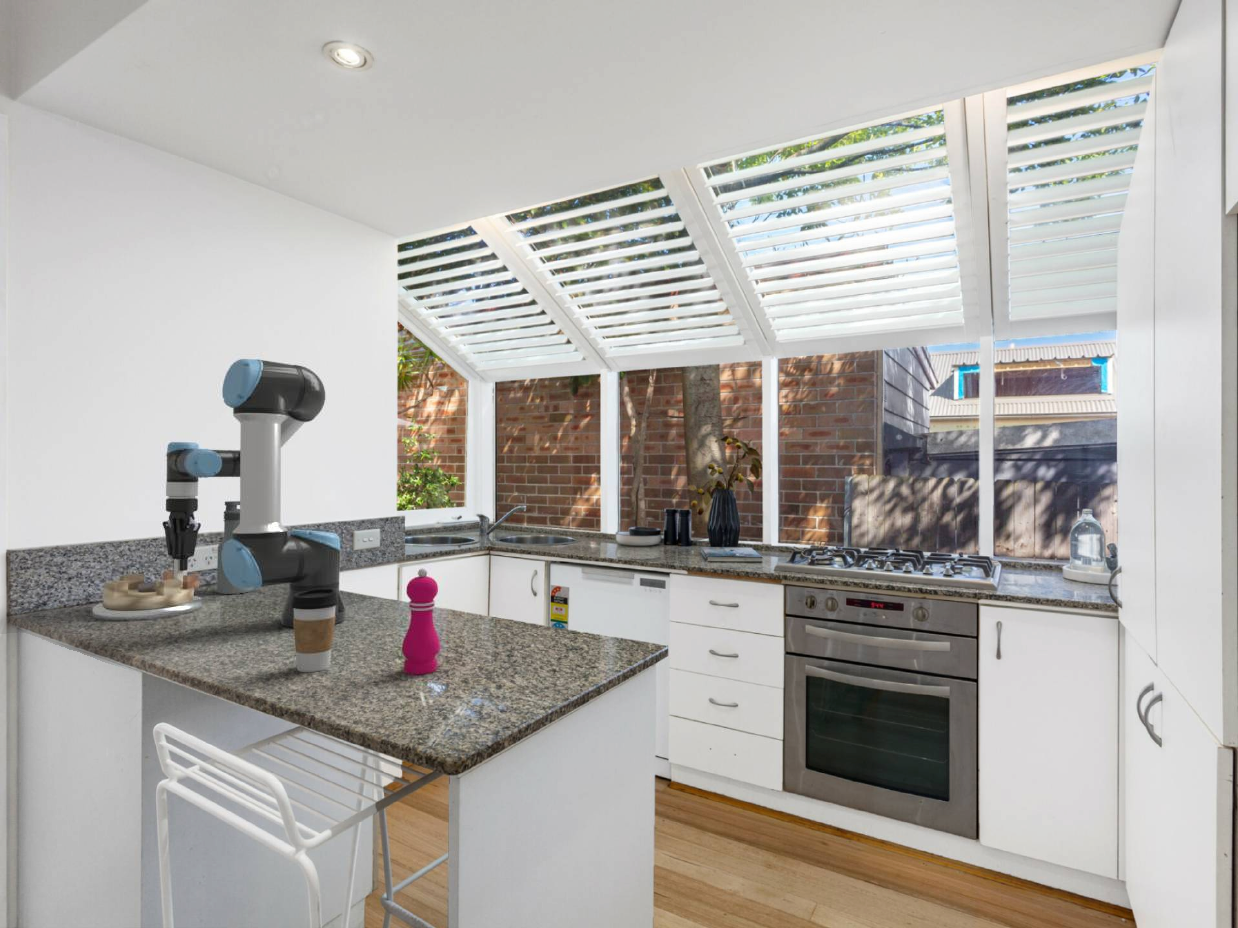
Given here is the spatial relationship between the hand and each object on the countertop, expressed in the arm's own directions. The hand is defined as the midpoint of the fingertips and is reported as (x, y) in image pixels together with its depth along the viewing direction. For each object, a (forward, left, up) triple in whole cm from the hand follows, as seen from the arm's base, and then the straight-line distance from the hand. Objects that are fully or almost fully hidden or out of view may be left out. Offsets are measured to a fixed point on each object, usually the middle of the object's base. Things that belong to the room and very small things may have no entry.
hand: (180, 581), depth 189 cm
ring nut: (-3, +8, -4) cm, 9 cm away
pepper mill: (-98, -20, -7) cm, 100 cm away
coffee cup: (-83, -5, -7) cm, 83 cm away
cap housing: (-3, +8, -7) cm, 10 cm away
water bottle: (+12, -17, -7) cm, 22 cm away
